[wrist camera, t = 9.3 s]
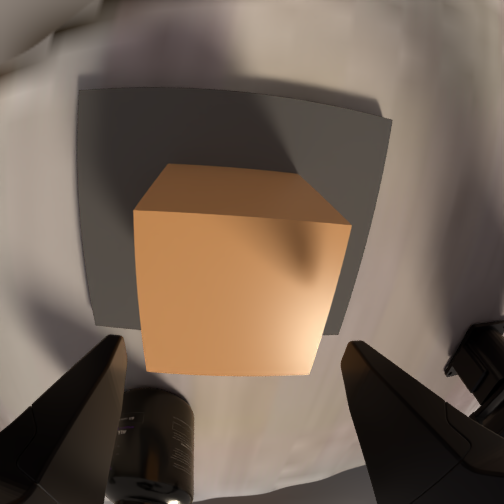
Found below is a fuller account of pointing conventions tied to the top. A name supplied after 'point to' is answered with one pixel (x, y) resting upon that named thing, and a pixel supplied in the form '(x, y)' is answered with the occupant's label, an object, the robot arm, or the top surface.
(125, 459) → the supplement bottle
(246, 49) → the top surface
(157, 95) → the dark gray mat
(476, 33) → the top surface
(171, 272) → the rounded wooden cube
